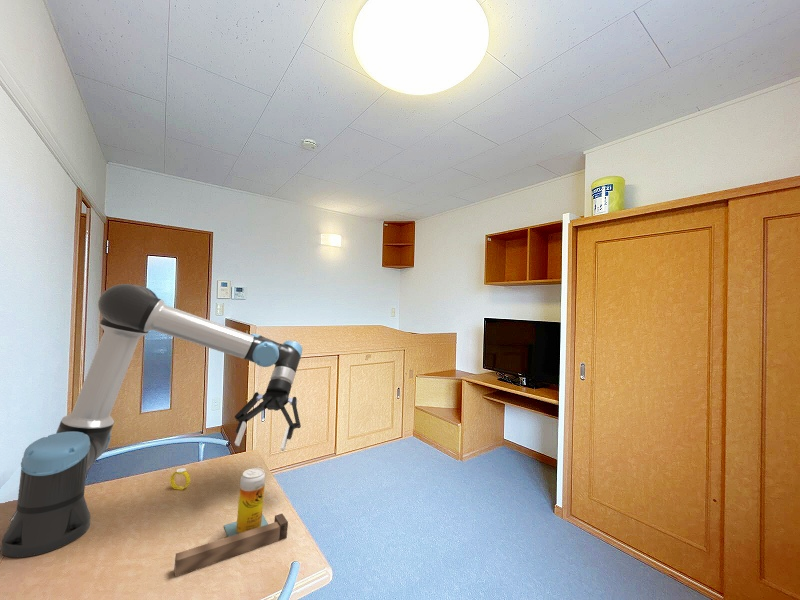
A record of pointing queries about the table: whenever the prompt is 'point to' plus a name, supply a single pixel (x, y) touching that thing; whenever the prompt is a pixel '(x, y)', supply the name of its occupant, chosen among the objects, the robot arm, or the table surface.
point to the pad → (232, 526)
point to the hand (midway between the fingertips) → (259, 447)
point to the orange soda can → (250, 500)
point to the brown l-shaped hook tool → (230, 546)
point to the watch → (180, 471)
